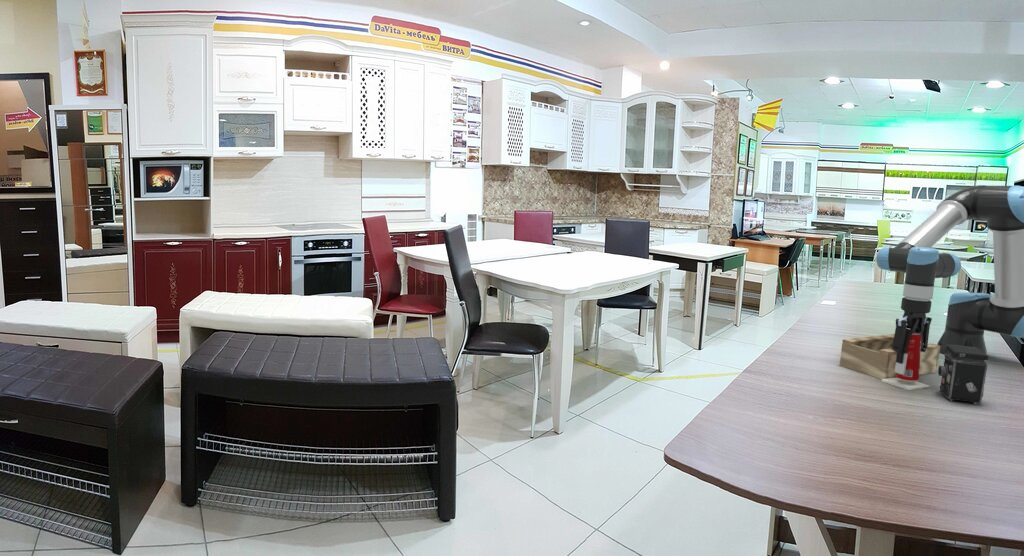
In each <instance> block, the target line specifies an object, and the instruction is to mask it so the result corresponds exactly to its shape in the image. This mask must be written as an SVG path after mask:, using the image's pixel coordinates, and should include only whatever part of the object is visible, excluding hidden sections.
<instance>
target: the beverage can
mask: <svg viewBox="0 0 1024 556" xmlns="http://www.w3.org/2000/svg"><path fill="white" fill-rule="evenodd" d="M906 353H907V354H908V355H907V362H906V369H905V374H904V375H903V374H900V373H897V378H898V379H900V380H903V381H909V382H915V381H916V382H919V380H920V375H919V369H920V353H921V335H920V333H916V332H914V333H912V336H911V338H910V342H909V345H908V348H907V351H906Z"/></svg>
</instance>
